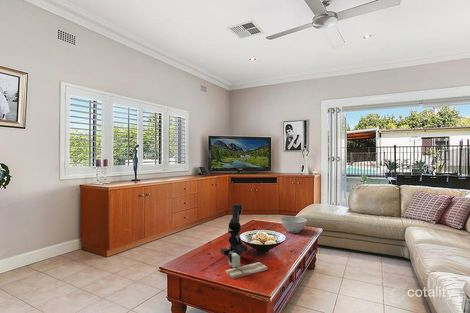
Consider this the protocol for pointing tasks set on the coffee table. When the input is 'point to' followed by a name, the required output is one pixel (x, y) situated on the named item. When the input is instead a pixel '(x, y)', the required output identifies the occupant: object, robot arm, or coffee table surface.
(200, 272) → the coffee table surface
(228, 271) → the birch board
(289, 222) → the decorative bowl
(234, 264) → the block
